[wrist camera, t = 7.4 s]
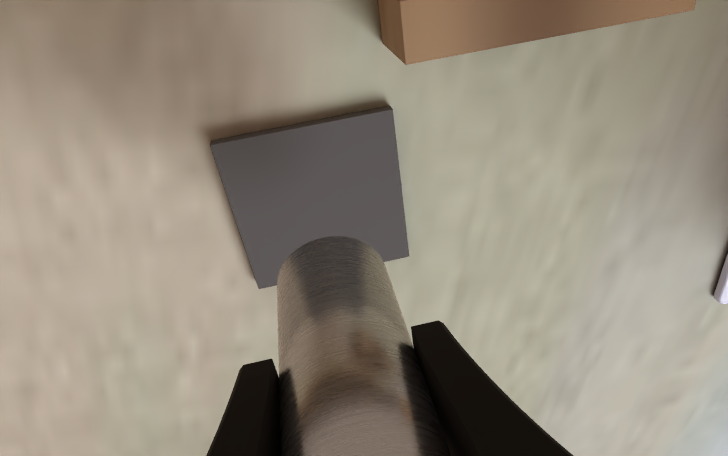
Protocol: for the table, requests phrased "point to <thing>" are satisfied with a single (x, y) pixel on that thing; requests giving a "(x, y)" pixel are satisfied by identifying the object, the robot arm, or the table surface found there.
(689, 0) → the walnut socket block
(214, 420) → the table surface
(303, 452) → the grey upright piece
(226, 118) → the table surface
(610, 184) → the table surface
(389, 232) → the rubber mat
